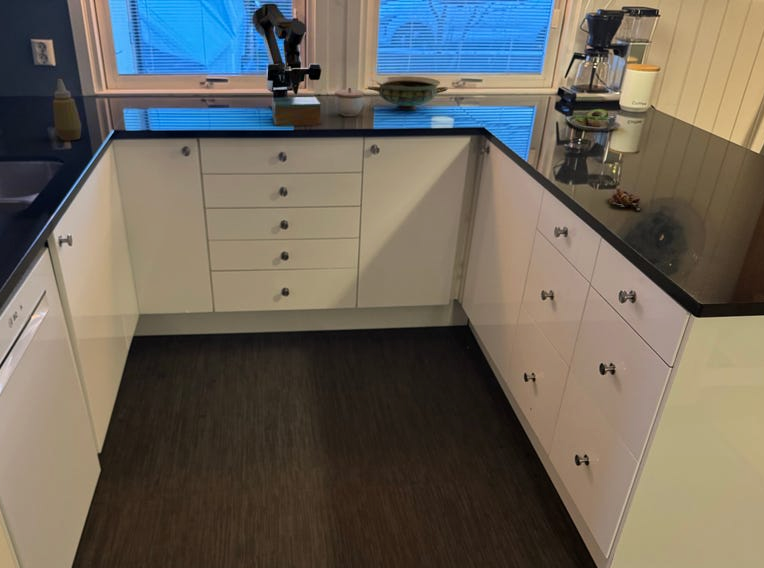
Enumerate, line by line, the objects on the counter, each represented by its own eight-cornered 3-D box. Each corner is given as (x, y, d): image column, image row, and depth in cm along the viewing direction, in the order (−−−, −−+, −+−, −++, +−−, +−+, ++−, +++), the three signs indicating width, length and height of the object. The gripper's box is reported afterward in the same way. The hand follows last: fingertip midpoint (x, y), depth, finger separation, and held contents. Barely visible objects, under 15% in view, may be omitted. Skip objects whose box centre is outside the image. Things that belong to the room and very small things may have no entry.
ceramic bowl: (443, 103, 274) (446, 76, 269) (447, 116, 254) (450, 87, 248) (368, 101, 276) (369, 74, 271) (366, 114, 256) (367, 85, 251)
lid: (320, 106, 237) (320, 103, 236) (275, 107, 235) (275, 104, 234) (315, 99, 247) (315, 96, 247) (271, 100, 245) (271, 97, 245)
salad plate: (631, 133, 233) (635, 119, 231) (579, 133, 232) (582, 119, 230) (609, 120, 249) (612, 107, 247) (560, 120, 249) (563, 107, 246)
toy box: (320, 124, 241) (320, 106, 237) (275, 126, 239) (275, 107, 235) (315, 117, 251) (315, 99, 247) (272, 118, 249) (271, 100, 245)
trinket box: (364, 111, 259) (365, 85, 254) (362, 118, 250) (363, 90, 245) (335, 110, 260) (336, 84, 255) (333, 117, 251) (334, 90, 246)
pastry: (635, 196, 176) (639, 182, 174) (640, 212, 166) (644, 197, 164) (606, 194, 177) (609, 180, 175) (609, 209, 168) (613, 194, 166)
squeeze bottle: (59, 143, 216) (48, 82, 207) (55, 137, 223) (44, 78, 213) (85, 140, 220) (75, 80, 210) (80, 134, 226) (70, 76, 216)
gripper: (315, 68, 251) (320, 106, 247) (264, 69, 248) (268, 107, 245) (319, 48, 240) (323, 87, 236) (265, 48, 237) (269, 88, 234)
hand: (296, 93), depth 238 cm, fingers closed
